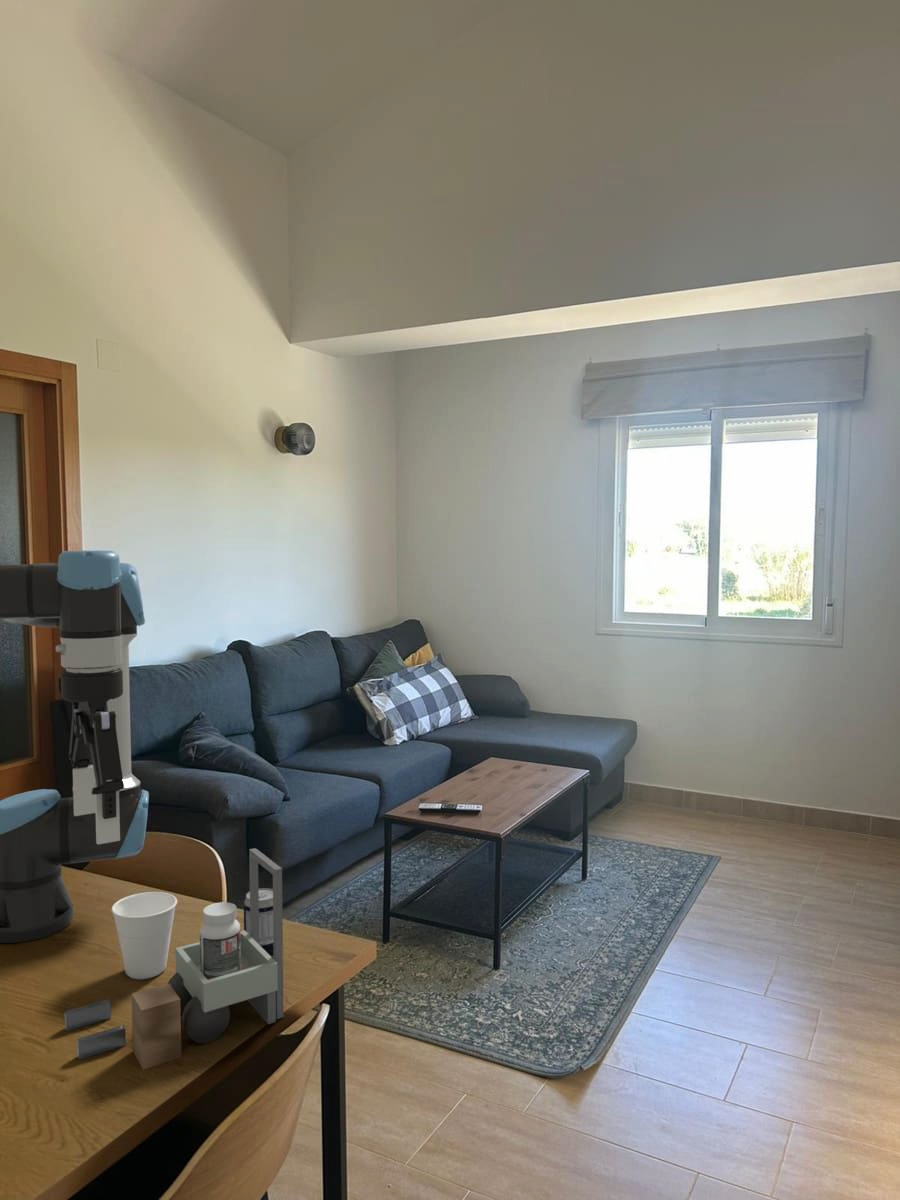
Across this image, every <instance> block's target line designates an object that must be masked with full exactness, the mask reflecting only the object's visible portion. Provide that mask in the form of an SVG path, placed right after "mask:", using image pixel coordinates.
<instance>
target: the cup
mask: <svg viewBox="0 0 900 1200" xmlns="http://www.w3.org/2000/svg"><path fill="white" fill-rule="evenodd" d="M177 904H178V898H177V897H176V896H174V895H173V894H171V893H167V892H161V891H148V892H141V893H134V894H131V895H128V896H125V897H123V898H121V899H119V900H117V901H116V902H115V903H114V904H113V905H112V907H111V909H110V910H111V913H112V914H113V917H114V922H115V926H116V927H115V928H116V932H117V936H118V937H117V938H118V941H119V947H120V950H121V951H120V952H121V957H122V961H123V965H124V971H125V974H126V975H127V976H128V977H129V978H131V979H133V980H147V979H151V978H155V977H157V976H159V975H161V974H162V973H163V972H164V971H165V969H166V968H167V964H168V956H169V949H170V943H171V936H172V929H173V923H174V919H175V917H174V916H175V911H176V906H177Z"/></svg>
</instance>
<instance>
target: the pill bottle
mask: <svg viewBox="0 0 900 1200" xmlns="http://www.w3.org/2000/svg"><path fill="white" fill-rule="evenodd" d="M237 911H238V909H237V905H236V904H234V903H232V902H226V901H225V902H224V901H223V902H215V903H212V904H209V905H207V906H205V907H204V908H203V910H202V920H203V921H204V923H203V924H202V925H201V926H200V928H199V942H200V971H201V972H202V974H203V975H204V976H205V977H206V979H207V980H209V979H213V978H216V977H220V976H223V975H227V974H230V973H234V972H237V971H241V935H240V931H241V924H240V922H239V921H238V920H237V919H236V917H237V915H238V914H237V913H238V912H237Z"/></svg>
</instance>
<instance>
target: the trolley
mask: <svg viewBox="0 0 900 1200" xmlns="http://www.w3.org/2000/svg"><path fill="white" fill-rule="evenodd" d="M248 851H249V854H248V860H249V861H248V862H249V863H248V864H249V867H248V869H249V892H250V935H249V934H248V933H247V932H246V931H245V930H244V929H243V930H240V935H241V971H237V972H234V973H230V974H227V975H223V976H220V977H216V978H213V979H209V980H207V979H206V977H205V976H204V975H203V974H202V972H201V971H200V941H197V942H195V943H194V942H193V943H191V944H186V945H182V946H178V947H175V973H174V975H172V977H171V978H170V979H169V980H168V981H167V984H170V985H171V987H172V988H173V990H174V991H175V992H176V994H177V995H178V997H179V998H180V1011H181V1025H182V1027H183V1029H184V1031H185V1032H186V1034H187V1035H188V1036H189V1038H190V1039H191V1040H192V1041H194V1042H195V1043H198V1044H208V1043H210V1042H213V1041H215V1040H216V1039H219V1037H220V1036H221V1035H223V1033H224V1032H225V1031H226V1029H227V1027H228V1025H229V1023H230V1019H231V1010H230V1007H229V1006H230V1005H234V1004H238V1003H241V1002H245V1001H247V1003H249V1004H250V1005H251V1006H252V1007H253V1009H254V1010H255V1011H256V1012H257V1013H258V1015H259V1016H260V1017H261V1018H262V1019H263V1020H264V1022H265V1023H266V1024H267V1025H270V1024H274V1023H276V1022H277V1020H279V1019H282V1018H284V1014H285V1013H284V947H283V946H284V945H283V944H284V941H283V940H284V939H283V937H284V935H283V930H284V929H283V927H284V925H283V923H284V922H283V868H282V867H281V866H280V865H278V864H277V863H276V862H274V861H273V860H272V859H270V858H269V857H268V856H267V855H265V854H264V853H263V852H261V851H260V850H259V849H257V848H256V847H255V848H250V849H249V850H248ZM259 865H260V866H262V868H264V869H265V870H266V871H268V872H269V873H270V874H271V875H272V889H273V945H274V959H273V958H272V957H271V956H270V955H269V954H268V953H267V952H266V951H265V950H264V949H263V948H262V947H261V946H260V945H259V891H258V889H259Z"/></svg>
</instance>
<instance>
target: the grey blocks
mask: <svg viewBox="0 0 900 1200" xmlns="http://www.w3.org/2000/svg"><path fill="white" fill-rule="evenodd" d="M110 1019H112V1002H111V999H109V998H108V999H104V1000H102V1001H101V1000H100V1001H97V1002H93V1003H90V1004H87V1005H83V1006H79V1007H76V1008H73V1009H69V1010H65V1011H64V1028H65V1031H66V1032H69V1031H72V1030H76V1029H79V1028H82V1027H85V1026H89V1025H93V1024H96V1023H99V1022H103V1021H106V1020H110ZM126 1035H127V1034H126V1027H125V1025H119V1026H115V1027H113V1028H109V1029H106V1030H102V1031H99V1032H95V1033H93V1034H89V1035H86V1036H82V1037H79V1038H76V1055H77V1059H78V1061H79V1060H80V1061H81V1060H84V1059H86V1058H90V1057H93V1056H96V1055H100V1054H103V1053H105V1052H108V1051H112V1050H115V1049H116V1050H117V1049H119V1048H122V1047H126V1045H127V1044H126V1042H127V1041H126Z"/></svg>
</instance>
